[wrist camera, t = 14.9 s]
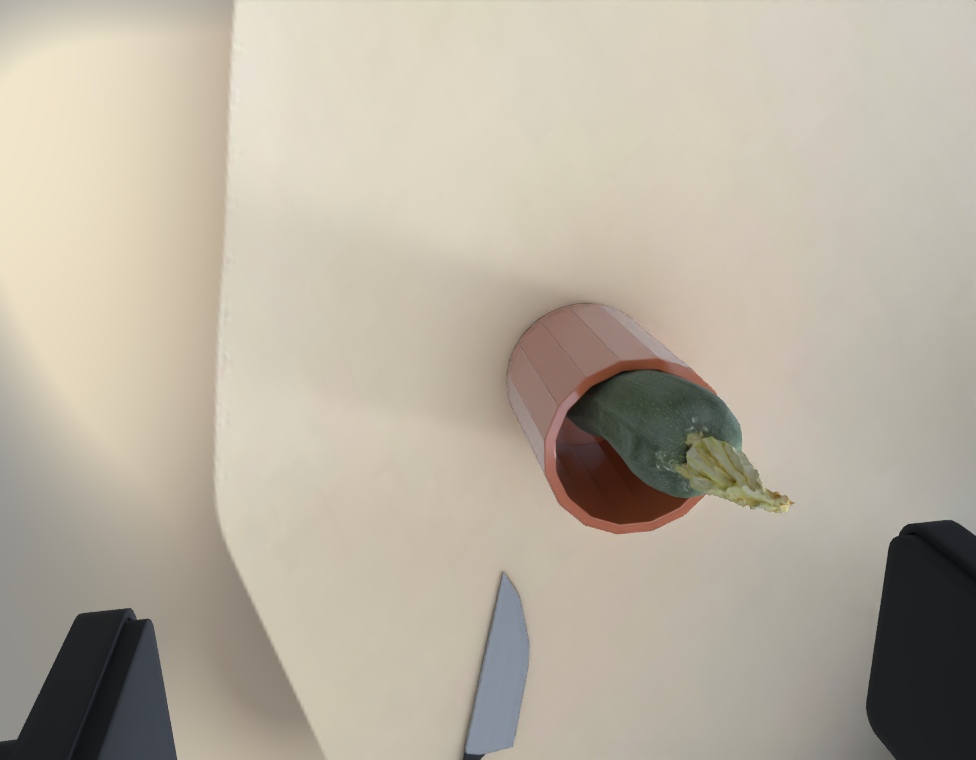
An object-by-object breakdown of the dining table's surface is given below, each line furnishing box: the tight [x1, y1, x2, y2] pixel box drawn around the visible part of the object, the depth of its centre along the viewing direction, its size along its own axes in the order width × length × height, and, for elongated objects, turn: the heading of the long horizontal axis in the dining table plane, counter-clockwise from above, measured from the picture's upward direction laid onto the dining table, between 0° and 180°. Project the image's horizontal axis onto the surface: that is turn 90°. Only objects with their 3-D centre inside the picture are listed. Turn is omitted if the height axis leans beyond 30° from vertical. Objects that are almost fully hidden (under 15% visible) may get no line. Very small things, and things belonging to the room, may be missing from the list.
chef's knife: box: [463, 572, 529, 760], centre depth 53 cm, size 19×1×3 cm
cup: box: [507, 303, 717, 534], centre depth 43 cm, size 8×8×10 cm
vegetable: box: [566, 370, 795, 513], centre depth 37 cm, size 4×4×20 cm
